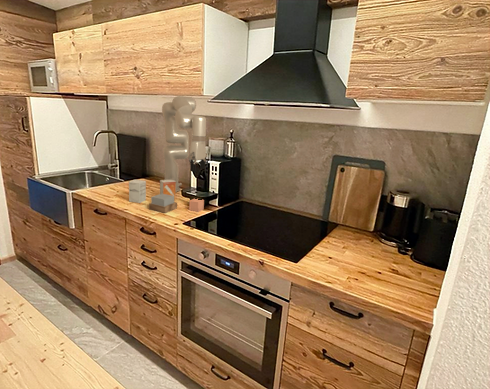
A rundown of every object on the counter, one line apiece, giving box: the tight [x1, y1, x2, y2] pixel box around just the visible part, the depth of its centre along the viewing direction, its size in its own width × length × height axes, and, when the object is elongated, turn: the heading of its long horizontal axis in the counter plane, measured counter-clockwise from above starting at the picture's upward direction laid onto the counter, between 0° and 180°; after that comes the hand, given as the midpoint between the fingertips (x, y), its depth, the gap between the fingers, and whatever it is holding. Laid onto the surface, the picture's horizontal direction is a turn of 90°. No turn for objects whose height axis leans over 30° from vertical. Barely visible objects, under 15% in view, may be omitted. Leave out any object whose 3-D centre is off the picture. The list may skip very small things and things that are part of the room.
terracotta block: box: [188, 198, 205, 213], centre depth 174 cm, size 6×6×6 cm
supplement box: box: [128, 179, 147, 204], centre depth 181 cm, size 7×7×13 cm
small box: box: [159, 179, 177, 202], centre depth 186 cm, size 8×6×13 cm
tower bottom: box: [148, 201, 178, 214], centre depth 172 cm, size 11×11×4 cm
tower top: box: [150, 193, 174, 206], centre depth 171 cm, size 9×9×4 cm
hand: (197, 169), depth 168 cm, fingers open, 9 cm apart
